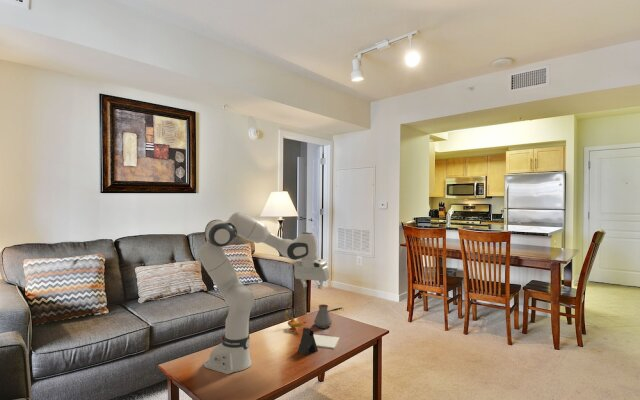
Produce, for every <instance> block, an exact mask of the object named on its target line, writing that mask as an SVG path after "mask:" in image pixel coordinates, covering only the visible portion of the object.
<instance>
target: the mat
mask: <svg viewBox="0 0 640 400" xmlns="http://www.w3.org/2000/svg"><path fill="white" fill-rule="evenodd" d="M340 338H341V337H338V336H329V335H321V334H315V333H314V339H315V342H316V346H317V348H324V349H325V348H326V349H333V350H335V349H336V347H337V345H338V343H339V341H340Z"/></svg>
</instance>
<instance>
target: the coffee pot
mask: <svg viewBox="0 0 640 400" xmlns="http://www.w3.org/2000/svg"><path fill="white" fill-rule="evenodd" d="M317 306H318V311H317V313H316V316H315V318H314V321H313V323H314V324H315V326H317V328H319V329H326V328H329V327H330V326H331V325H332V322H333V321H332V318H331V316H330V312H335V311H338V310H340V311H342V312H343V311H344V308H343V307H338V308H337V307H336V308H333V309H330V310H328V307H329V305H328V304H319V305H317Z"/></svg>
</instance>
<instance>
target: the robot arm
mask: <svg viewBox="0 0 640 400" xmlns="http://www.w3.org/2000/svg"><path fill="white" fill-rule="evenodd" d="M237 236H239V237H240V238H242V239H245V240H247V241H249V242H252V243H256V244H259V243H261V244H262V243H263V244H265V245H267V246H270V247H271V248H274V249H275V250H276V251H277V252H278V254H279V255H280V256H281V257H284V258H288V259H290V260H292V261H296V262H294V264H293V266H294V270H293V271H294V278H295V279H297V280H300V282H301V284H302V287H303V288H307V287H308V283H307V282H306V281H307V280H308V281H318V283H319V284H318V285H317V289H319V290H321V289H323V283H324V282H326V281H328V280H329V279H330V273H329V272H330V271H329V267H328V266H327V264H328V262H327V260H325V259H322V258H320V257H319V254H318V252H317V251H318V245H317V238H316V235H315V234H314V233H313V232H305V231H304V232H301V233H300V235H298V236H297V237H296V238H294V239H291V238H288V237H283V238H282V237H280V236H278V235H276V234H274V233H272V232H270V231H269V230H268V227H267V225H266V224H265V223H263V221H260V220H259V219H257V218H255V217H253V216H251V215H248V214H245V213H243V212H234V213H232V215H230V217H229V218H228V219H227V220H226V221H223V220H221V219H212V220H211V221H209V222H208V223H207V224H206V226H205V228H204V241H205V243H204V244H202V245H200V247H199V248H198V251H197V255H198V258H199V261H200V262H201V265H202V266H203V267H204V270H205V271H206V273H207V275H208V276H209V277H210V278H211V280H212V282H213V283H214V285H215V287H216V288H217V290H218V292H219V293H220V295H221V297H222V298H223V300H224V301H225V302H226V303H227V304H228V314H227V315H226V316H227V317H226V319H225V330H224V331H225V332H224V333H225V334H223V335H222V337H220V340H219V341H221V343H219V344H218V345H216V346H215V347H214V348H213V349H212V350H211V352H209V358H207V359H206V360H205V361H204V364H203V368H207V369H210V370H211V371H212V370H213V371H216V372H219V373H223V374H225V375H228V374H231V373H235V372H240V371H243V370H246V369H248V368H249V367H251V366H252V360H251V355H250V354H251V353H250V333H249V327H250V317H251V316H250V315H251V311H252V307H253V306H254V304H255V296H254V293H253V292H252V291H251V289H250V288H248V287H247V286H245V285H244V284H243V282H242V281H241V279H240V278H239V276H238V274H237V271H236V269H235V267H234V266H233V264H232V263H231V261H230V260H229V257H227V255H226V253H225V252H224V250H223V248H224V247H226V246H228V245H229V244H230V243H231V242H232V241H233V240H234V239H235V238H236V237H237ZM300 259H301V261H297V260H300Z"/></svg>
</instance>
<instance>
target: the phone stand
mask: <svg viewBox="0 0 640 400" xmlns="http://www.w3.org/2000/svg"><path fill="white" fill-rule="evenodd" d="M314 332H315V331H313V329H310V328H309V327H307V326H305V327H303V329H302V335H301V337H300V342H299V345H298V349H297V352H298V353H300V354H302V355H303V356H307V355H310V354H311V355H312V354H314V353H317V352H319V350H318V347H317V346H316V342H315V339H314V334H315V333H314Z"/></svg>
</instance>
